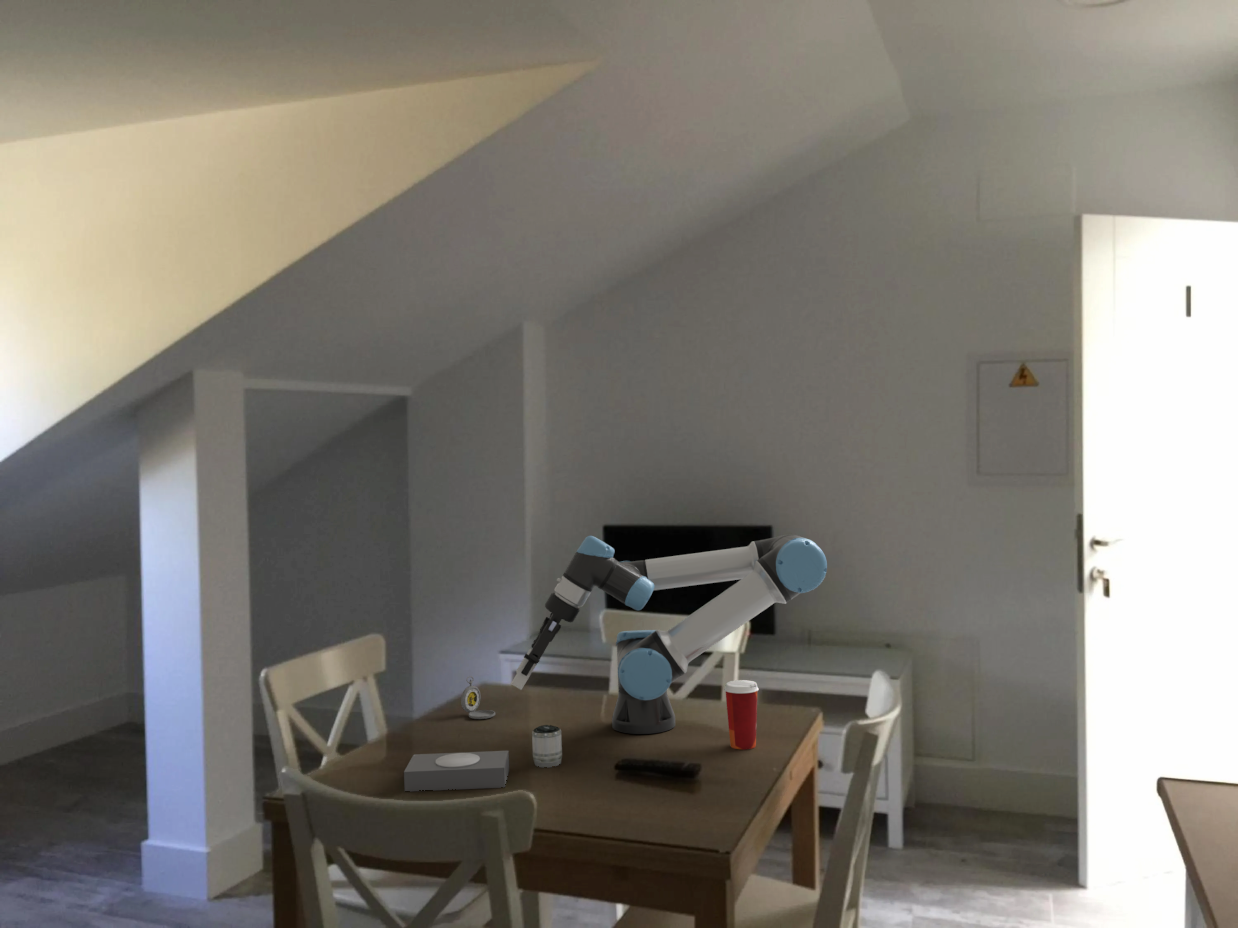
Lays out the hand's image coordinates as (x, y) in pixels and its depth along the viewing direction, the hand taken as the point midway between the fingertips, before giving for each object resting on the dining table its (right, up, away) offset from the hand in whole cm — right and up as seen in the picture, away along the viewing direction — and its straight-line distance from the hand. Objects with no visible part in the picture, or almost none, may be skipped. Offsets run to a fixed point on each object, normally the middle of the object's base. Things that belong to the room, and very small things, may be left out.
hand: (518, 680), depth 247 cm
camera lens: (+7, -15, -13) cm, 21 cm away
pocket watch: (-13, -15, +30) cm, 36 cm away
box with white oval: (-10, -16, -22) cm, 29 cm away
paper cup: (+50, -14, -5) cm, 52 cm away
